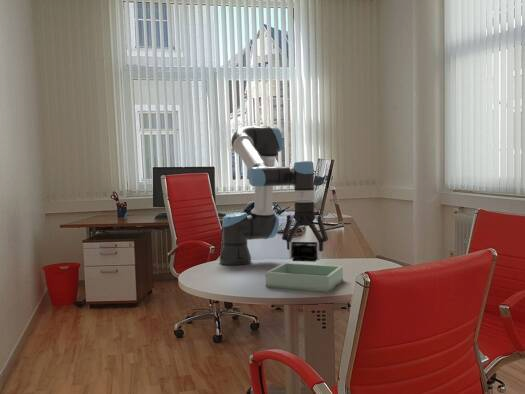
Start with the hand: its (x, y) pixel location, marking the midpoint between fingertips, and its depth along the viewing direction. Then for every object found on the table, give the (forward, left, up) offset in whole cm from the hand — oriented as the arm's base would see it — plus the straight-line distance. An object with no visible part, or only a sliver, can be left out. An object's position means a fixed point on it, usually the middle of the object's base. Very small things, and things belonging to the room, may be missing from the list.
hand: (305, 258), depth 194 cm
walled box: (0, 0, -10) cm, 10 cm away
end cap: (0, 0, -1) cm, 1 cm away
